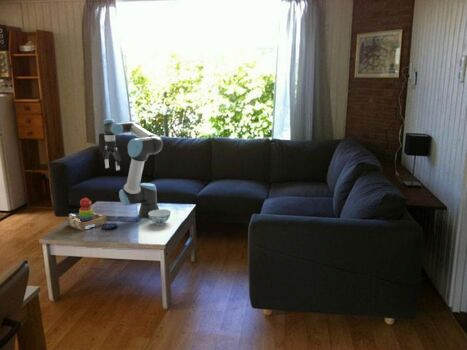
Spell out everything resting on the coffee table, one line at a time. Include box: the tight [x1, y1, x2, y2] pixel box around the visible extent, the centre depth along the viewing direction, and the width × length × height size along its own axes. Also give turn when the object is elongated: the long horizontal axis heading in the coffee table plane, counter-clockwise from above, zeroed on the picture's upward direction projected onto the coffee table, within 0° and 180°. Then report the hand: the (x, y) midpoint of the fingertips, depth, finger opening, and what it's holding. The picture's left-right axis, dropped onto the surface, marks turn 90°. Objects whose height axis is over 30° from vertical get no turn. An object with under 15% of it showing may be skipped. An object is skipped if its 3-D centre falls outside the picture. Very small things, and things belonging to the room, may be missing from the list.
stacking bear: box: [78, 197, 95, 222], centre depth 282 cm, size 11×10×18 cm
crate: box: [67, 212, 107, 232], centre depth 284 cm, size 18×18×5 cm
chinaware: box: [148, 208, 171, 226], centre depth 284 cm, size 15×15×8 cm
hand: (112, 168), depth 309 cm, fingers open, 13 cm apart
